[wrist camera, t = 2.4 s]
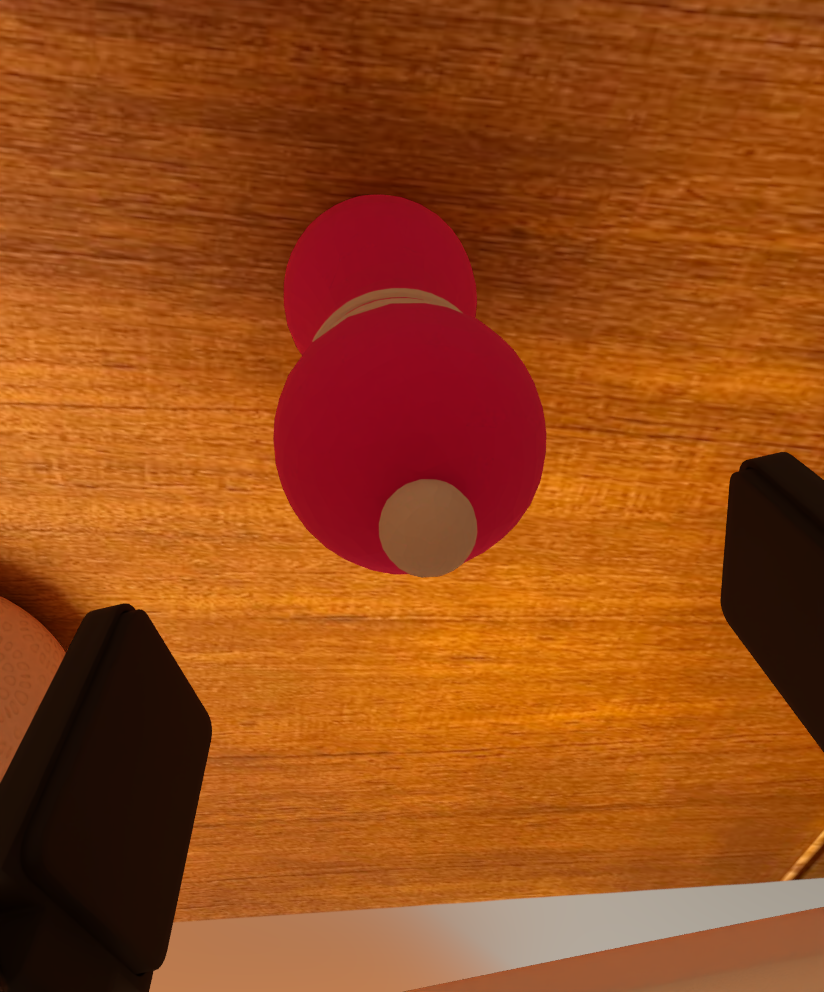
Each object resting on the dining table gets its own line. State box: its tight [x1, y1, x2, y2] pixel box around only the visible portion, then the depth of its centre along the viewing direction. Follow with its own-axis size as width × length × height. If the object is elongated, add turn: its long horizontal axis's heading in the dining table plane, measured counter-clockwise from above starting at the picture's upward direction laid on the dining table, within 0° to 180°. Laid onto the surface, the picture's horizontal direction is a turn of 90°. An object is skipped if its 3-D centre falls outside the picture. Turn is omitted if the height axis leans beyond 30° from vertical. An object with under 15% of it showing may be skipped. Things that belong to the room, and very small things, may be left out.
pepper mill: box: [274, 195, 546, 577], centre depth 19 cm, size 7×7×20 cm
